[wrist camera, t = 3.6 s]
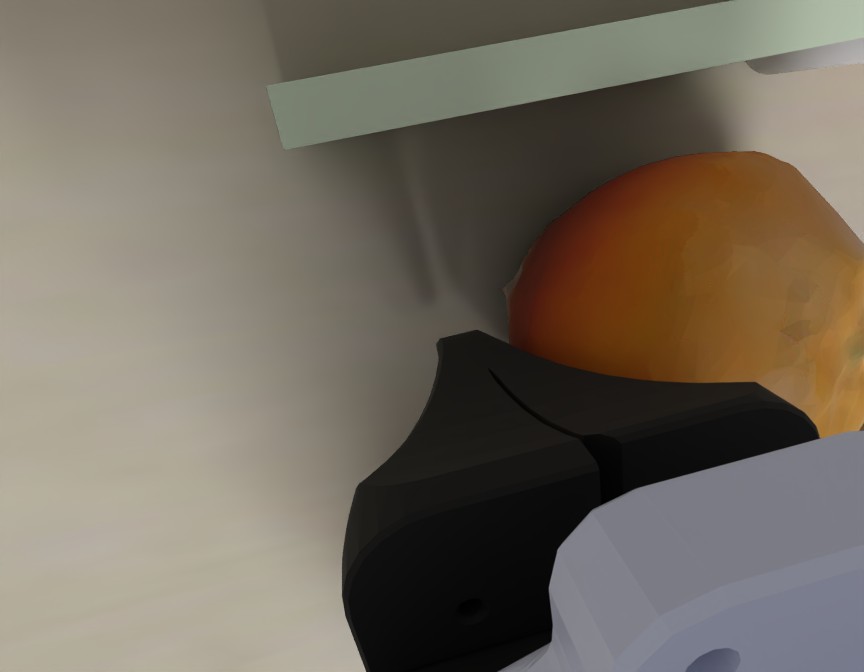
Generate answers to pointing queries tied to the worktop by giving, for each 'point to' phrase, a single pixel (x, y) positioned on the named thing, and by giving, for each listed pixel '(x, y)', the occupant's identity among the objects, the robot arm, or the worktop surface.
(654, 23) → the gate
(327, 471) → the worktop surface
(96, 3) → the worktop surface
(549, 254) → the fruit
